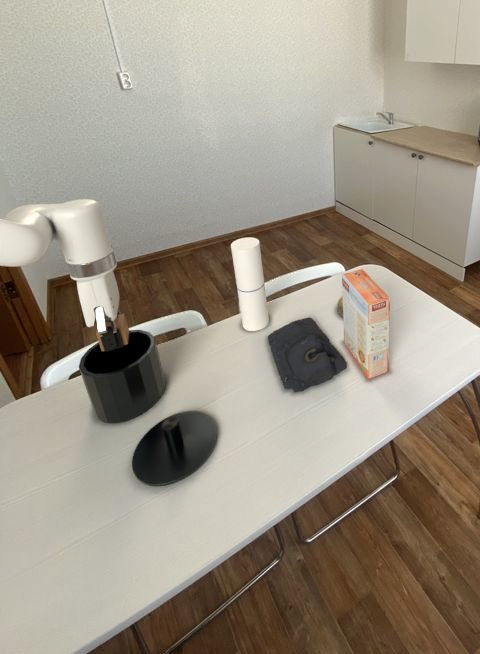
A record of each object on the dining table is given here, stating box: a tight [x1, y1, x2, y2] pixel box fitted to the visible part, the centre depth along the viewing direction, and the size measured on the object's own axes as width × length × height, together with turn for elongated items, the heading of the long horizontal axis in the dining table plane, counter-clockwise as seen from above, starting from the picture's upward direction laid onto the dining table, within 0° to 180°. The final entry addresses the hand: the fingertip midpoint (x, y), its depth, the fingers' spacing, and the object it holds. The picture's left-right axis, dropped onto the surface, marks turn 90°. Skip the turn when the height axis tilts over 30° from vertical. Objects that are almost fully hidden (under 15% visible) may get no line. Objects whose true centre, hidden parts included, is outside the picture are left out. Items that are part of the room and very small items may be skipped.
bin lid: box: [131, 410, 217, 488], centre depth 72 cm, size 15×15×7 cm
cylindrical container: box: [230, 236, 270, 332], centre depth 103 cm, size 7×7×25 cm
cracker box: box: [341, 268, 391, 380], centre depth 91 cm, size 14×6×21 cm, turn 25°
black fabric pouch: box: [267, 316, 347, 393], centre depth 95 cm, size 15×22×5 cm
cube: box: [95, 313, 130, 351], centre depth 79 cm, size 5×5×5 cm
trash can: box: [78, 329, 166, 424], centre depth 82 cm, size 14×14×12 cm
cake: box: [336, 295, 343, 318], centre depth 112 cm, size 10×10×5 cm
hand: (115, 339), depth 79 cm, fingers closed on cube, 4 cm apart
